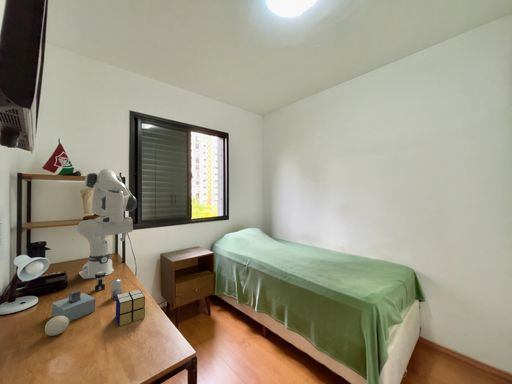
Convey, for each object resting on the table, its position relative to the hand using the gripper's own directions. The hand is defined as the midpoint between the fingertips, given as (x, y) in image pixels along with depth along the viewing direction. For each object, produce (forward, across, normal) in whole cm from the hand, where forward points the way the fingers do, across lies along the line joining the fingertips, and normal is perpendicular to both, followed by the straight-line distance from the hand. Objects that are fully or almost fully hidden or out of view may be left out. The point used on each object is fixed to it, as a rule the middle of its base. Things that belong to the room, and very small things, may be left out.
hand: (113, 242), depth 121 cm
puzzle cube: (+29, +9, +32) cm, 44 cm away
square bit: (+28, +20, +6) cm, 35 cm away
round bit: (+29, +1, +6) cm, 30 cm away
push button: (+29, +1, -13) cm, 32 cm away
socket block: (+29, +20, +6) cm, 36 cm away
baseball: (+29, +30, +18) cm, 46 cm away
